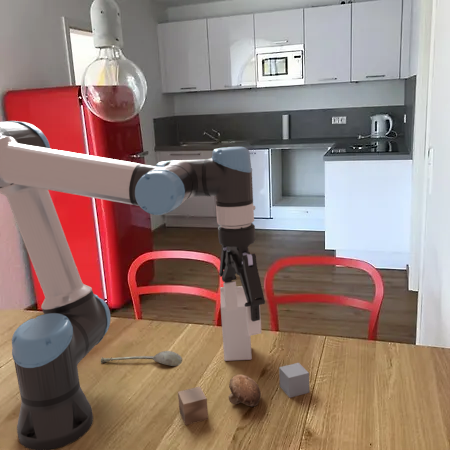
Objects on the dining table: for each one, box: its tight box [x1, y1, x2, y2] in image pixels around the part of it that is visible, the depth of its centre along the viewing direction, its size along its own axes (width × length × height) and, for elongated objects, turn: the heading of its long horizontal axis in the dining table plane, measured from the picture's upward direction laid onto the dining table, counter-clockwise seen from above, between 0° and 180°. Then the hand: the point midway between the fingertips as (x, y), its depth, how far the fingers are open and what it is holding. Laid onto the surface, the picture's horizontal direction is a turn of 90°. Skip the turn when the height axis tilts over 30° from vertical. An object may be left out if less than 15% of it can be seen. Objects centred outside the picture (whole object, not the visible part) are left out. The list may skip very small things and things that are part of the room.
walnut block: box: [177, 386, 209, 426], centre depth 104 cm, size 5×5×5 cm
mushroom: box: [228, 374, 262, 407], centre depth 108 cm, size 8×8×6 cm
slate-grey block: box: [278, 362, 310, 398], centre depth 111 cm, size 5×5×5 cm
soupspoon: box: [100, 350, 183, 367], centre depth 128 cm, size 22×3×7 cm
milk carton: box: [219, 285, 253, 362], centre depth 127 cm, size 7×7×19 cm
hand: (242, 321), depth 104 cm, fingers open, 13 cm apart
